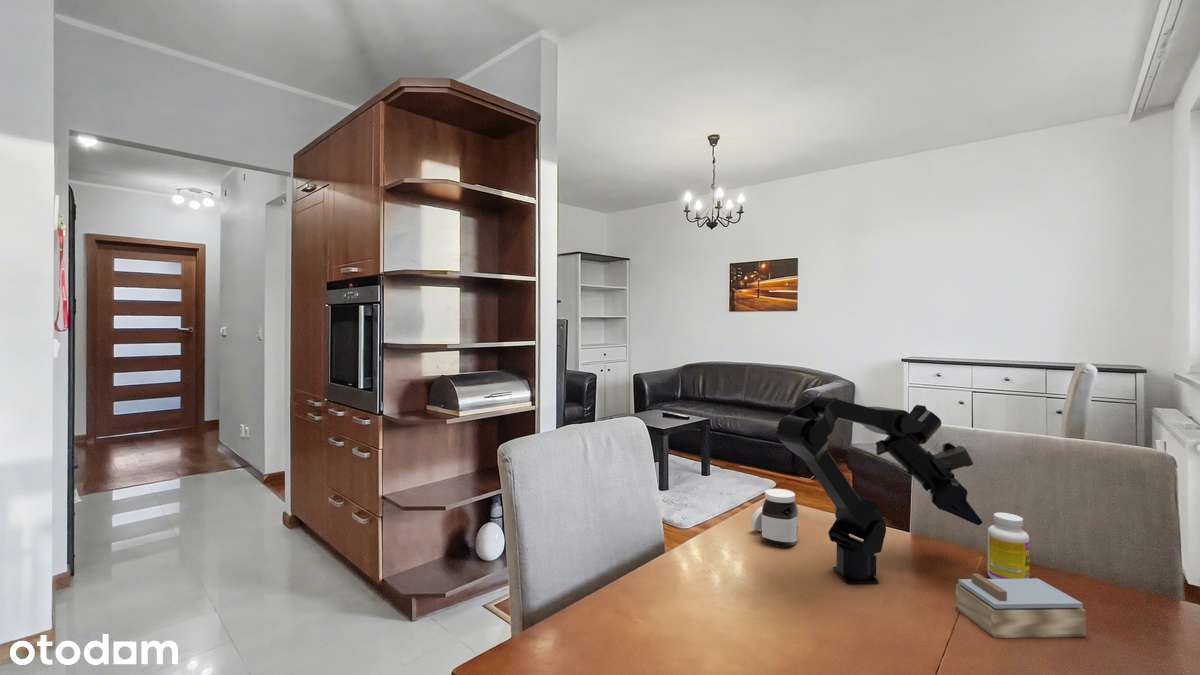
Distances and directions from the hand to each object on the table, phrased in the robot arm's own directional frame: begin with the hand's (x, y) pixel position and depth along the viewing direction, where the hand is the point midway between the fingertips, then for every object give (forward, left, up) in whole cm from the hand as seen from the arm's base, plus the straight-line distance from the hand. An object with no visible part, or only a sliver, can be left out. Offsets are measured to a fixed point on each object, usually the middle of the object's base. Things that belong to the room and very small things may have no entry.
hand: (975, 516), depth 106 cm
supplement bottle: (+5, -2, -12) cm, 13 cm away
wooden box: (-5, -17, -12) cm, 22 cm away
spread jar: (-34, +20, -12) cm, 42 cm away
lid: (-5, -17, -7) cm, 19 cm away
